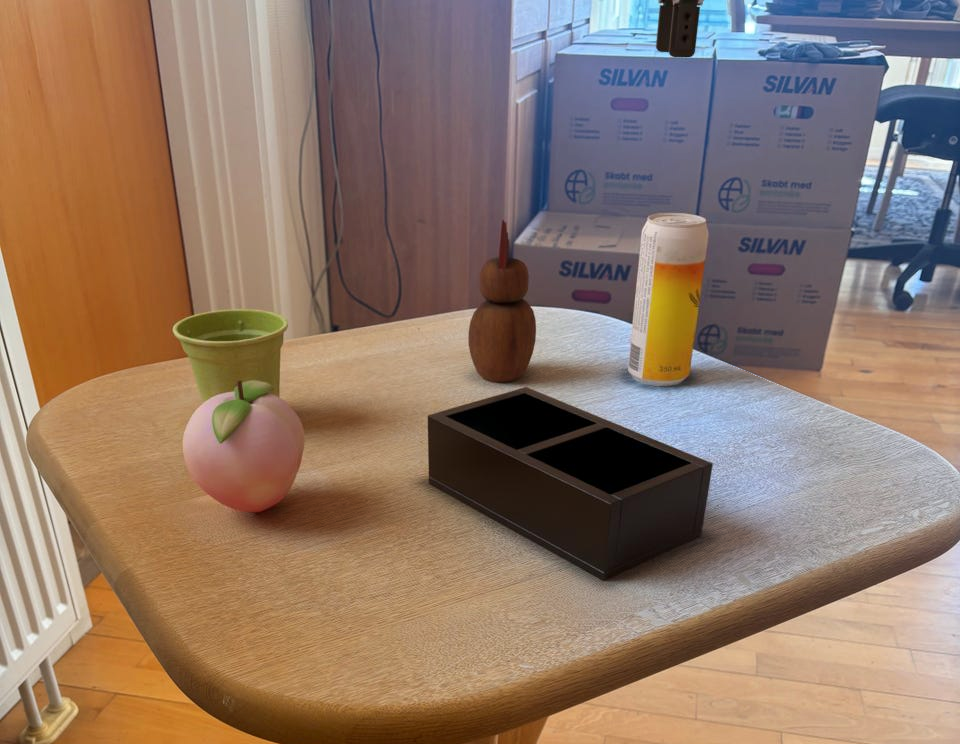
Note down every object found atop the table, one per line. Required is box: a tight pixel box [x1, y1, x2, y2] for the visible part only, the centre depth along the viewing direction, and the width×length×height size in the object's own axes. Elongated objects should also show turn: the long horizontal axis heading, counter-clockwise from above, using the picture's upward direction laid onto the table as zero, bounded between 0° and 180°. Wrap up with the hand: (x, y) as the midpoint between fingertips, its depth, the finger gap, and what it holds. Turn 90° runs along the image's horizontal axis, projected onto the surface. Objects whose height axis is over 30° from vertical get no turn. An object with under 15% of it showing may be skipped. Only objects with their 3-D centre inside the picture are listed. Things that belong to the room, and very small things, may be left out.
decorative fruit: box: [182, 380, 306, 513], centre depth 69 cm, size 9×8×10 cm
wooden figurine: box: [467, 219, 537, 383], centre depth 93 cm, size 7×6×15 cm
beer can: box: [627, 212, 710, 387], centre depth 93 cm, size 6×6×15 cm
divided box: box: [427, 386, 714, 582], centre depth 71 cm, size 10×19×6 cm, turn 40°
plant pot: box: [172, 308, 289, 404], centre depth 84 cm, size 9×9×9 cm
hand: (674, 54), depth 88 cm, fingers open, 8 cm apart
